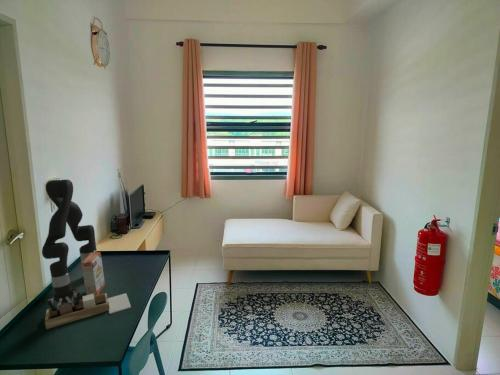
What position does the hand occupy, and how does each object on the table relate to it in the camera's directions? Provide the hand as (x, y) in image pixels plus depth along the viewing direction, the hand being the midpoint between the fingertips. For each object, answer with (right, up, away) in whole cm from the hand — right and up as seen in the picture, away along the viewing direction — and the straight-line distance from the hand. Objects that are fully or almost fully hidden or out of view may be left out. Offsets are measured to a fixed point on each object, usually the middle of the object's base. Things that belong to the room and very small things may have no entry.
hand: (67, 314), depth 151 cm
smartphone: (-11, +1, +19) cm, 22 cm away
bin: (+4, 0, +3) cm, 5 cm away
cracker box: (+3, +3, +23) cm, 24 cm away
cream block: (+9, 0, +5) cm, 10 cm away
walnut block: (0, -1, 0) cm, 1 cm away
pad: (+21, +2, +10) cm, 23 cm away
